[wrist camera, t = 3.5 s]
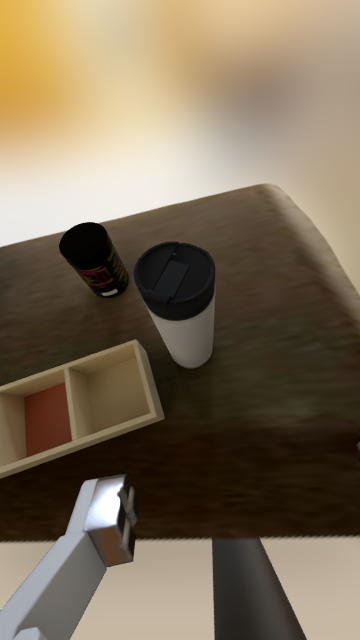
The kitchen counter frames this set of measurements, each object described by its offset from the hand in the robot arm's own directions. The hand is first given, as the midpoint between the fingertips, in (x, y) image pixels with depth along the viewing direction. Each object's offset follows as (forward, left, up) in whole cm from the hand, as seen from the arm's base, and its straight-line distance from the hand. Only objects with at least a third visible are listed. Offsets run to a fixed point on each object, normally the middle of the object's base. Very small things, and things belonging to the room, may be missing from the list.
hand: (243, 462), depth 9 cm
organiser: (+9, +20, -24) cm, 33 cm away
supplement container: (+28, +8, -24) cm, 38 cm away
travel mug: (+12, -1, -24) cm, 27 cm away
